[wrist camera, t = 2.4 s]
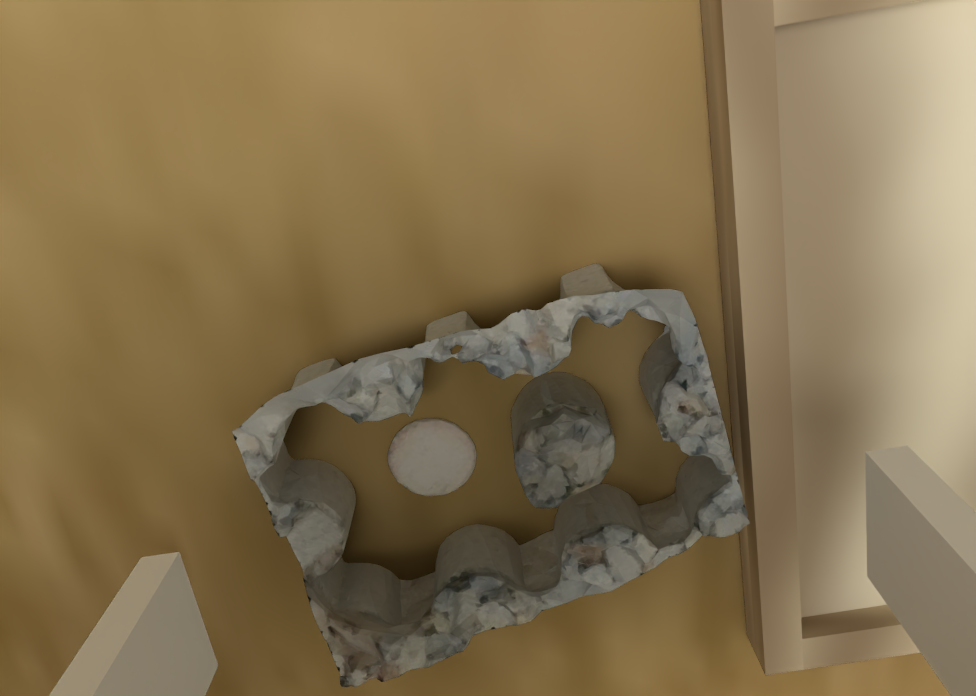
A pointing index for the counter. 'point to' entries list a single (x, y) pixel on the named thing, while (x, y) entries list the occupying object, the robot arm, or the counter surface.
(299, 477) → the egg carton
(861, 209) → the tray
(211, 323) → the counter surface
